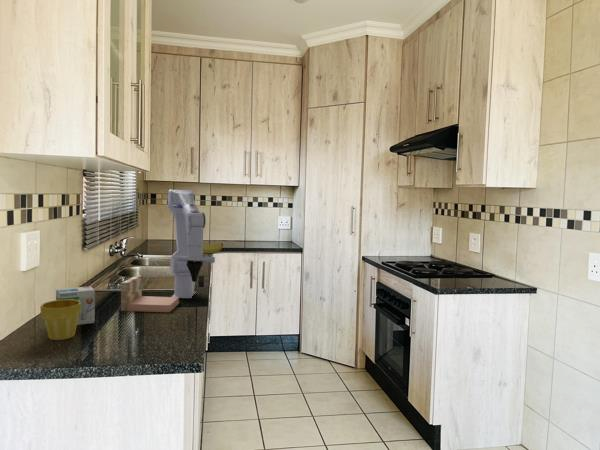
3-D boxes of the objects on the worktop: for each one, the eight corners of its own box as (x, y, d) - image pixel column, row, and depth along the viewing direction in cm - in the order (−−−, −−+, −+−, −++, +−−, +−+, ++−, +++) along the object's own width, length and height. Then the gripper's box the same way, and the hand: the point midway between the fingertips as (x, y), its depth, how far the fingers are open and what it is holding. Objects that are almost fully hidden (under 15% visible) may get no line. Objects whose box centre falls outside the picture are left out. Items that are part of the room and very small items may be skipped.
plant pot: (35, 343, 123) (35, 308, 122) (47, 331, 133) (46, 299, 132) (76, 341, 125) (76, 307, 125) (85, 330, 135) (85, 298, 135)
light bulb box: (58, 327, 137) (58, 293, 137) (55, 322, 143) (54, 288, 142) (95, 322, 144) (95, 289, 143) (91, 317, 149) (91, 285, 148)
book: (139, 303, 171) (139, 296, 170) (178, 305, 171) (178, 297, 170) (127, 312, 159) (127, 303, 158) (169, 313, 159) (169, 305, 158)
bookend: (136, 300, 173) (136, 275, 172) (141, 300, 173) (141, 275, 172) (120, 310, 158) (121, 282, 157) (126, 311, 158) (126, 283, 157)
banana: (222, 252, 316) (223, 224, 314) (223, 253, 310) (223, 225, 309) (189, 252, 310) (189, 224, 308) (189, 254, 304) (190, 224, 303)
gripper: (172, 245, 162) (172, 282, 163) (212, 246, 162) (211, 283, 163) (177, 243, 169) (177, 279, 170) (216, 244, 169) (215, 280, 170)
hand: (194, 281), depth 167 cm, fingers closed
